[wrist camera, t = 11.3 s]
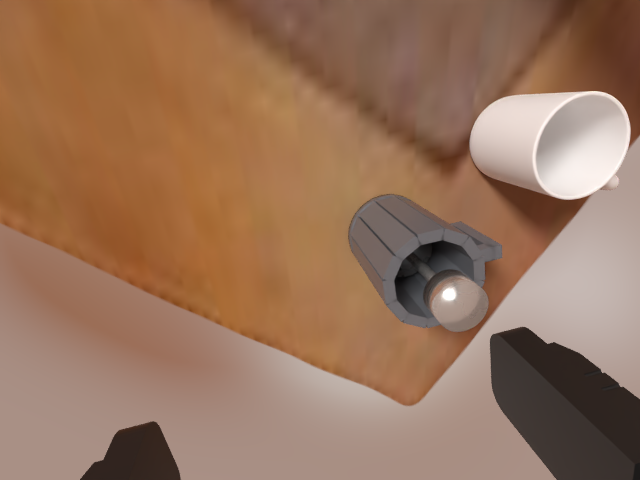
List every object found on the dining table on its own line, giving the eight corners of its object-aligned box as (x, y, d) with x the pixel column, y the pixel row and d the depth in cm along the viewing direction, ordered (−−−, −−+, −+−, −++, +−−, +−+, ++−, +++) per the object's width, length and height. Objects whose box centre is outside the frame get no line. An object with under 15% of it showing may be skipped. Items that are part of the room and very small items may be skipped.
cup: (500, 78, 37) (582, 68, 28) (580, 141, 41) (678, 151, 31) (451, 153, 39) (512, 168, 29) (532, 208, 42) (610, 237, 33)
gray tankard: (342, 204, 39) (375, 243, 28) (444, 181, 40) (516, 209, 28) (355, 276, 42) (389, 338, 31) (449, 254, 43) (517, 306, 31)
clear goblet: (370, 227, 35) (420, 282, 24) (426, 214, 36) (500, 262, 25) (378, 279, 37) (428, 351, 26) (430, 266, 38) (501, 332, 26)
